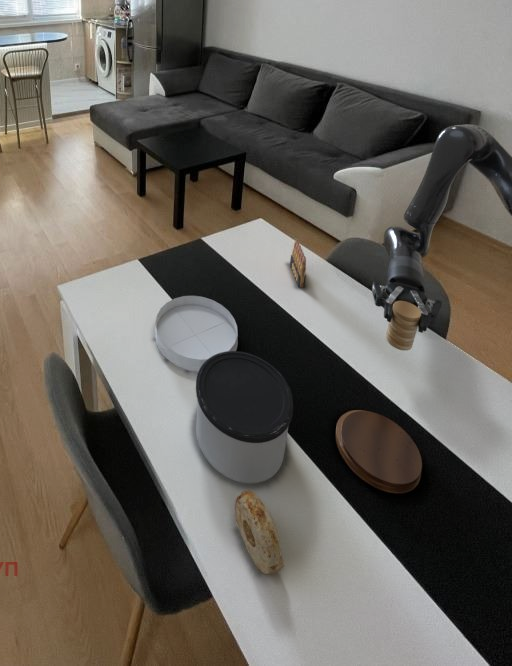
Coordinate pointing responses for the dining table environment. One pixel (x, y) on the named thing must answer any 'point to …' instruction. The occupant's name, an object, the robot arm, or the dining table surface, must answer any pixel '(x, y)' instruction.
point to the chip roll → (403, 325)
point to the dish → (194, 331)
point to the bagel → (258, 532)
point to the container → (242, 415)
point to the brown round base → (379, 451)
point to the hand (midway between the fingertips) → (405, 323)
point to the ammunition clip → (298, 264)
